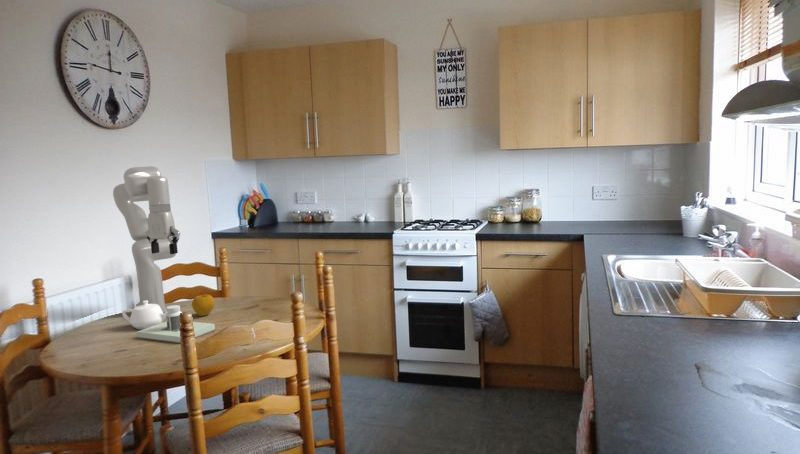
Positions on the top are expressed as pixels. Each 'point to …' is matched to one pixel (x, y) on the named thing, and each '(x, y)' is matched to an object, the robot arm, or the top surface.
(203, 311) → the apple
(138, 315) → the teapot
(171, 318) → the pill bottle
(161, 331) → the pocket board
